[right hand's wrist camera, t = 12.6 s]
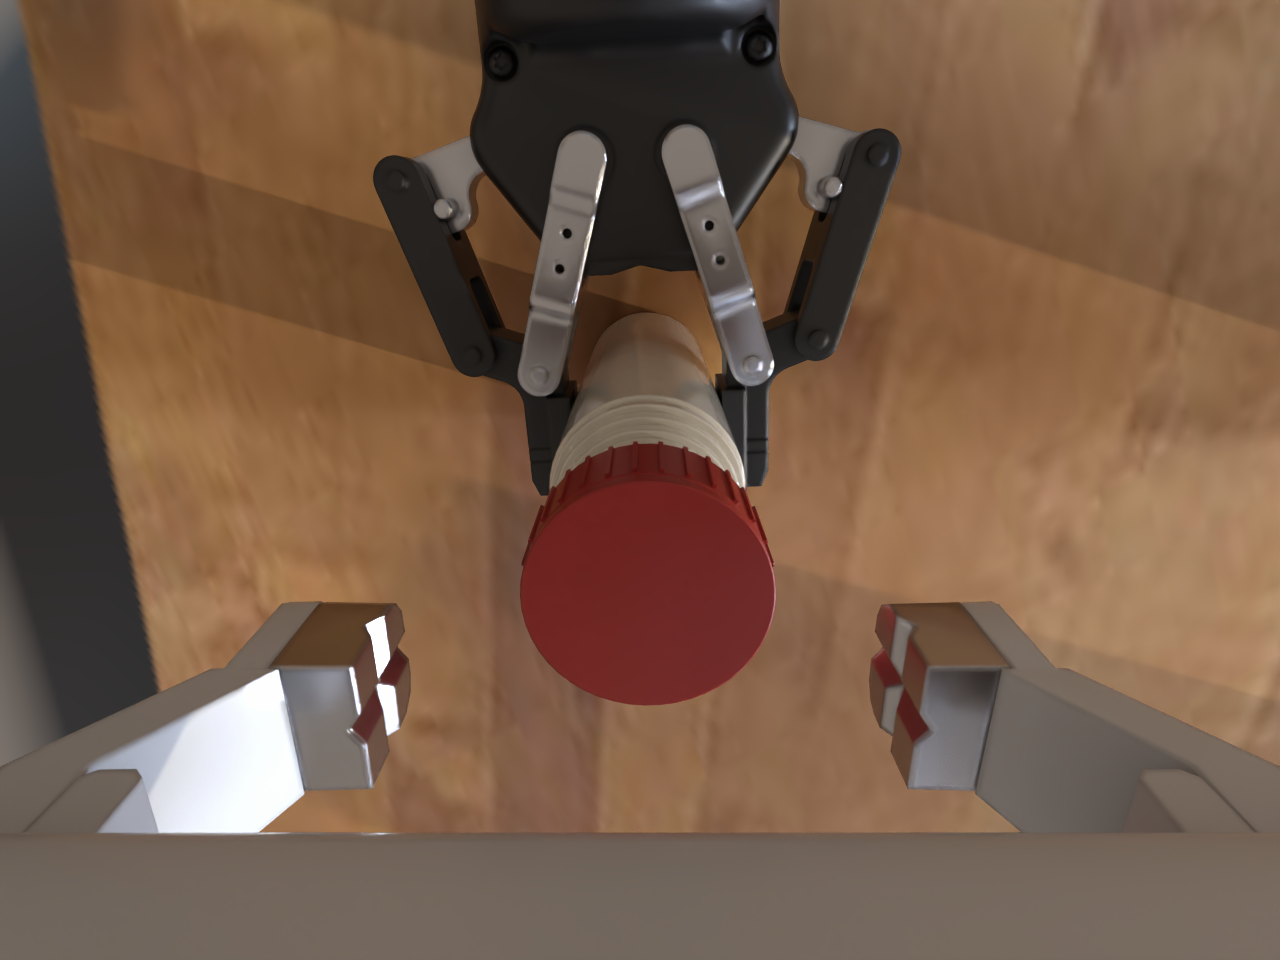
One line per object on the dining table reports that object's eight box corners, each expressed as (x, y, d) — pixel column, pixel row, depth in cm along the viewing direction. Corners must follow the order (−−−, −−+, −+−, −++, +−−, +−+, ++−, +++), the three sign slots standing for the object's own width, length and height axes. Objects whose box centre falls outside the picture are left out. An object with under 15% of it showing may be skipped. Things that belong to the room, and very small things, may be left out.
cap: (486, 524, 13) (461, 574, 12) (675, 392, 12) (681, 423, 11) (623, 681, 15) (619, 748, 13) (804, 570, 14) (828, 626, 12)
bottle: (567, 356, 28) (461, 560, 12) (660, 288, 27) (680, 409, 11) (634, 445, 29) (619, 737, 13) (725, 382, 28) (829, 615, 12)
